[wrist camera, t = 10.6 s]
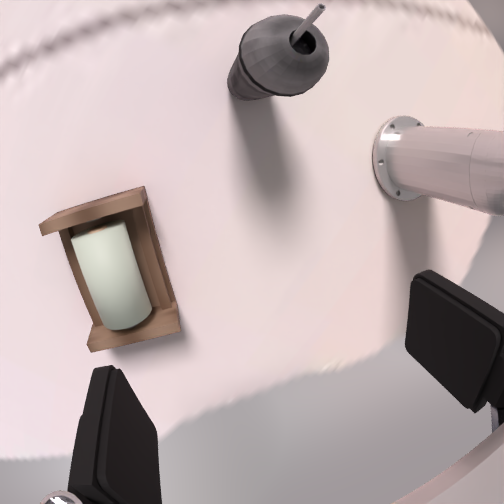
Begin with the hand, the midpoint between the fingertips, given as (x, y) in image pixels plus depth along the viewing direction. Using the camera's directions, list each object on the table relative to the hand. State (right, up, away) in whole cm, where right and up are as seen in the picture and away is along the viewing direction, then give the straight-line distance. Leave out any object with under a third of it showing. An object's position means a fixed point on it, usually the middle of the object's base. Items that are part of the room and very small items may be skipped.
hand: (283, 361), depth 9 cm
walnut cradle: (-17, +2, +25) cm, 30 cm away
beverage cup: (-2, +23, +23) cm, 32 cm away
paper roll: (-16, +1, +22) cm, 27 cm away
